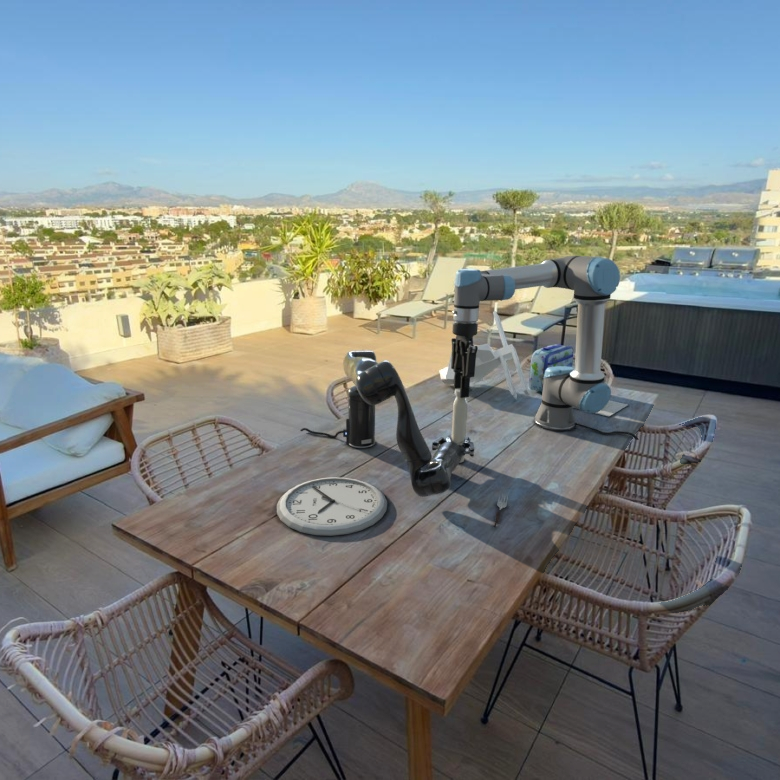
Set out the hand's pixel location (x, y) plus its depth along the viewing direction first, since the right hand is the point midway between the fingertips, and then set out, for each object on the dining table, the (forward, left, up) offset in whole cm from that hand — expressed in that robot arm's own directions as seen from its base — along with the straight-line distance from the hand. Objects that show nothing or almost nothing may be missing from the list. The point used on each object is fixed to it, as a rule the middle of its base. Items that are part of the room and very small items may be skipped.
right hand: (461, 394), depth 165 cm
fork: (-11, +33, -23) cm, 41 cm away
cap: (0, 0, +1) cm, 1 cm away
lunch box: (-44, -87, -23) cm, 100 cm away
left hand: (-1, -3, -16) cm, 16 cm away
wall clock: (+34, +35, -23) cm, 54 cm away
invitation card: (-62, -64, -23) cm, 92 cm away
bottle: (0, 0, -23) cm, 23 cm away
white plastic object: (-11, -76, -23) cm, 80 cm away
